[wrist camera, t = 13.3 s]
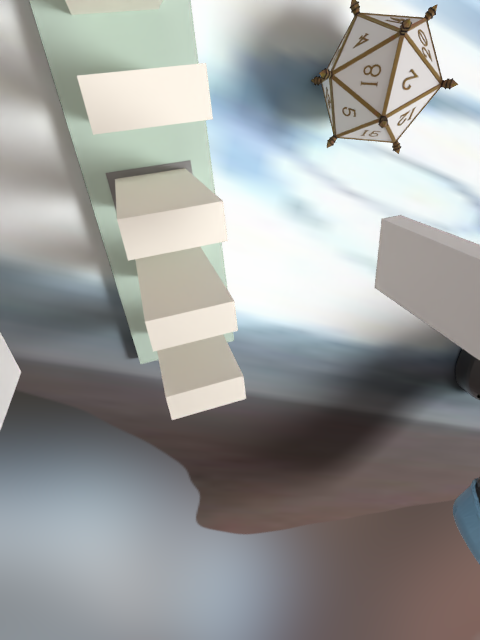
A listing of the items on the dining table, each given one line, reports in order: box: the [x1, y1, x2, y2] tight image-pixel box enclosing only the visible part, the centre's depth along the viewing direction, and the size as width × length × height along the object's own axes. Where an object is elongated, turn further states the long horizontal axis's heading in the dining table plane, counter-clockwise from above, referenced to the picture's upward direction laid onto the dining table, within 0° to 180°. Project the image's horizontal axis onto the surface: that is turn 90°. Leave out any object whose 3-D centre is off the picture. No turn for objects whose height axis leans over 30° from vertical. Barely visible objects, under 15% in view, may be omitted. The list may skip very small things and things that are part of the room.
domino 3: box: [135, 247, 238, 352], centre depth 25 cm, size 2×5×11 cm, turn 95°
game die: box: [311, 0, 458, 154], centre depth 25 cm, size 9×8×10 cm
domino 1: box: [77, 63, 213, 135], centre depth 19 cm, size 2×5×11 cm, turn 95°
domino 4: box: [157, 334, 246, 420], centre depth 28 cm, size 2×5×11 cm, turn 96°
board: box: [29, 0, 234, 364], centre depth 27 cm, size 30×9×1 cm, turn 5°
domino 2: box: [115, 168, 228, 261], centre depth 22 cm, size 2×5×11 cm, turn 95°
